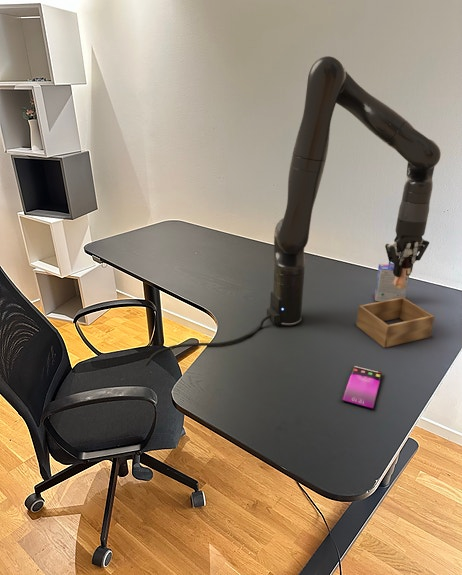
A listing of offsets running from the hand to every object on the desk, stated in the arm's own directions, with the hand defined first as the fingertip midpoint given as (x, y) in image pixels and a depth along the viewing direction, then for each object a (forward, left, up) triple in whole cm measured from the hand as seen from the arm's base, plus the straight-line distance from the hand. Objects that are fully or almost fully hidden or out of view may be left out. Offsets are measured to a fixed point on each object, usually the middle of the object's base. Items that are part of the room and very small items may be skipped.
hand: (401, 275), depth 126 cm
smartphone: (-25, -20, -19) cm, 37 cm away
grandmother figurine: (0, 0, -4) cm, 4 cm away
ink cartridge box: (+13, +18, -19) cm, 29 cm away
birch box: (0, 0, -19) cm, 19 cm away
